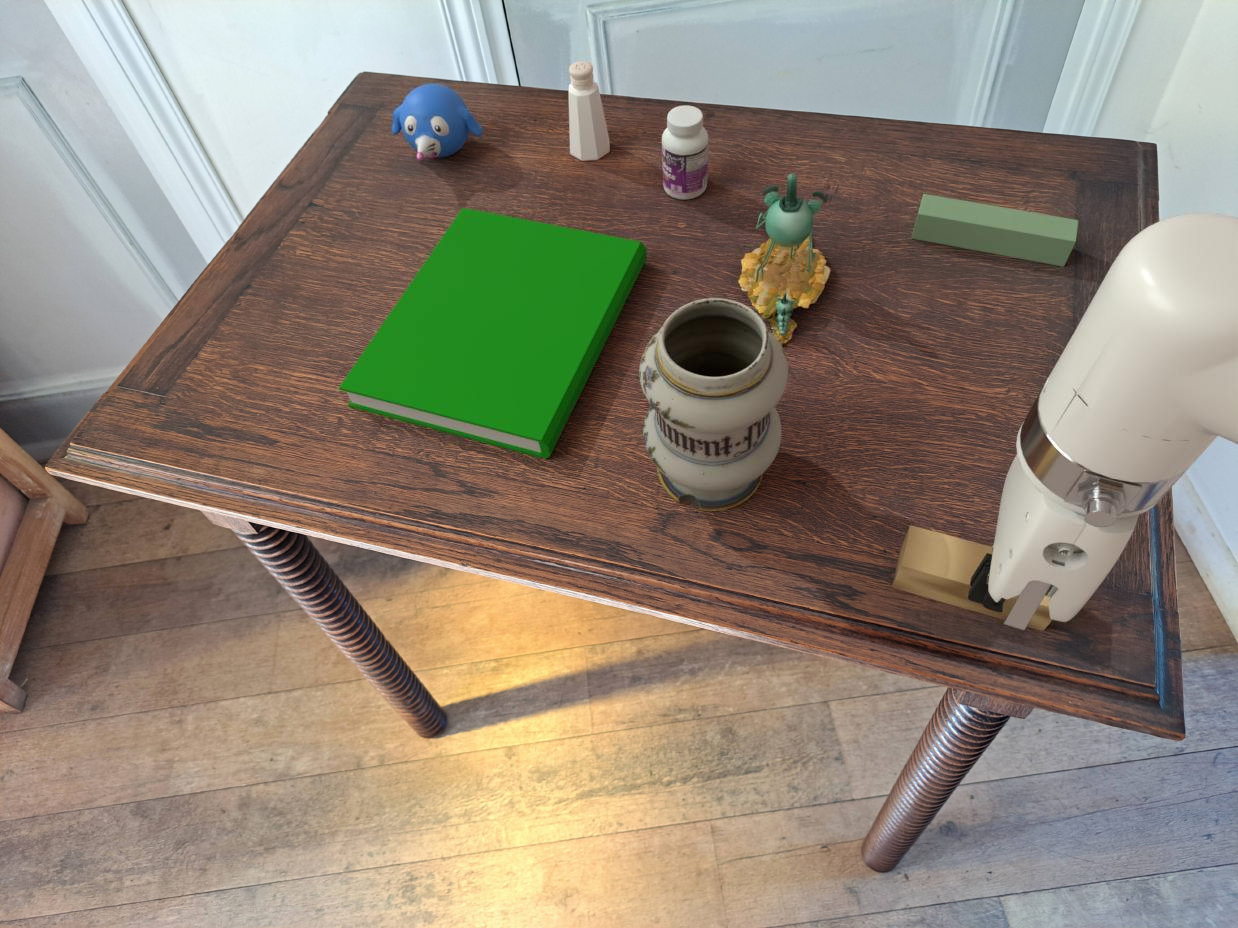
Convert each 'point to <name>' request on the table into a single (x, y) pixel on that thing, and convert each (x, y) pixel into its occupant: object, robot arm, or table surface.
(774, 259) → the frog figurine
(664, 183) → the pill bottle
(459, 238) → the book
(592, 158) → the salt shaker
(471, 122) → the blue mole toy
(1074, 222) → the green bar
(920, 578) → the brass block
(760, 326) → the apothecary jar
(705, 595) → the table surface
